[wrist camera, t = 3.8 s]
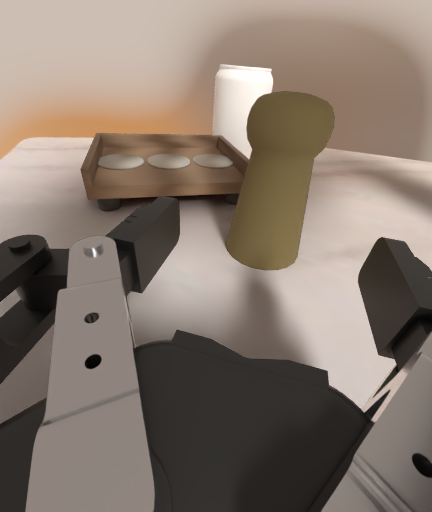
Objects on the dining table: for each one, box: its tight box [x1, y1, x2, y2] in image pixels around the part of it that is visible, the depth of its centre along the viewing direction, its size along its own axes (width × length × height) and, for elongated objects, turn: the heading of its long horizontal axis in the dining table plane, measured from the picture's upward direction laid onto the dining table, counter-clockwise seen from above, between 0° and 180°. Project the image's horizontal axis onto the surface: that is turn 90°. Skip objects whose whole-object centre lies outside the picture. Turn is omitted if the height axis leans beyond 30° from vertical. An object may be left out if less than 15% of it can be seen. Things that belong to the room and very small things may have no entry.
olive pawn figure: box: [226, 91, 335, 270], centre depth 18 cm, size 6×6×11 cm
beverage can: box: [212, 64, 273, 159], centre depth 38 cm, size 8×8×12 cm
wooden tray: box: [81, 133, 249, 211], centre depth 29 cm, size 16×13×4 cm
